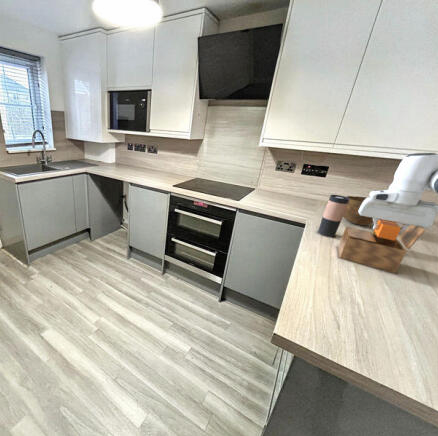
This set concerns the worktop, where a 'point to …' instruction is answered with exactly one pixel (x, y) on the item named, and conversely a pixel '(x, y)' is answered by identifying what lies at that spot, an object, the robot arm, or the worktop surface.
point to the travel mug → (333, 215)
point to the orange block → (387, 230)
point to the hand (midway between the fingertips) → (385, 231)
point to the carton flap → (411, 235)
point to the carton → (371, 249)
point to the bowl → (356, 211)
